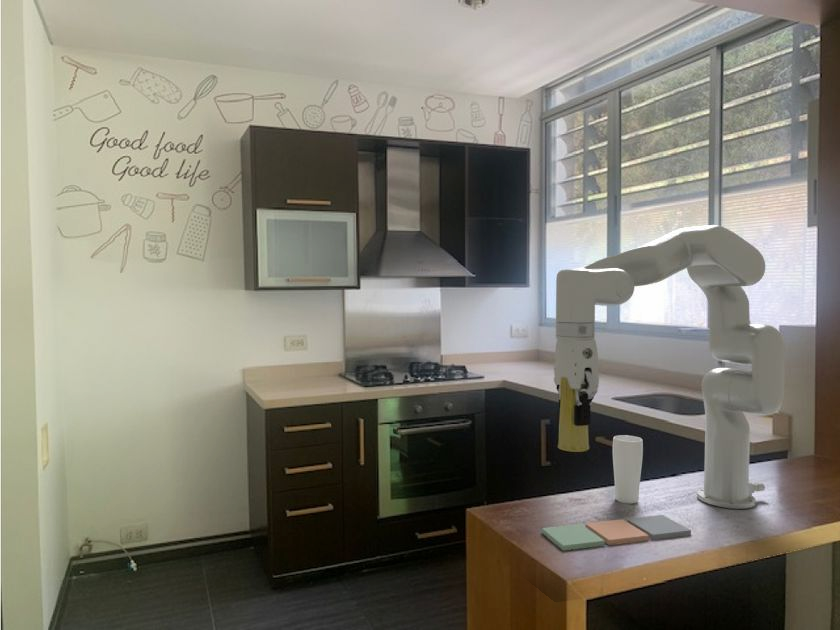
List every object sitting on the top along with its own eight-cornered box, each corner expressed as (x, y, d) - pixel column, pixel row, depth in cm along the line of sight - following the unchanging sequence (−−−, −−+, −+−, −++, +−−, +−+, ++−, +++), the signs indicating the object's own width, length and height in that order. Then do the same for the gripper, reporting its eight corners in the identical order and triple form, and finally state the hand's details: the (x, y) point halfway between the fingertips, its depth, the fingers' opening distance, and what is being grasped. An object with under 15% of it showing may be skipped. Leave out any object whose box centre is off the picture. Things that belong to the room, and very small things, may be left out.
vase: (568, 442, 128) (569, 374, 127) (595, 448, 124) (595, 377, 123) (551, 448, 124) (552, 377, 123) (578, 453, 119) (579, 380, 119)
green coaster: (580, 528, 130) (580, 523, 130) (604, 545, 121) (604, 540, 121) (541, 532, 127) (541, 528, 127) (563, 550, 119) (563, 545, 119)
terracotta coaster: (622, 523, 133) (622, 519, 133) (648, 540, 124) (648, 535, 124) (585, 528, 130) (585, 523, 130) (609, 545, 122) (609, 540, 121)
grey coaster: (662, 519, 135) (662, 514, 135) (690, 535, 127) (690, 530, 127) (626, 523, 133) (626, 518, 133) (652, 539, 124) (653, 534, 124)
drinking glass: (643, 506, 143) (645, 442, 143) (613, 504, 145) (614, 441, 144) (639, 497, 150) (640, 435, 149) (610, 495, 151) (611, 434, 151)
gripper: (616, 334, 115) (615, 430, 116) (570, 328, 132) (569, 412, 133) (580, 334, 113) (579, 432, 114) (538, 329, 130) (537, 414, 131)
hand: (574, 421), depth 123 cm, fingers closed on vase, 5 cm apart
